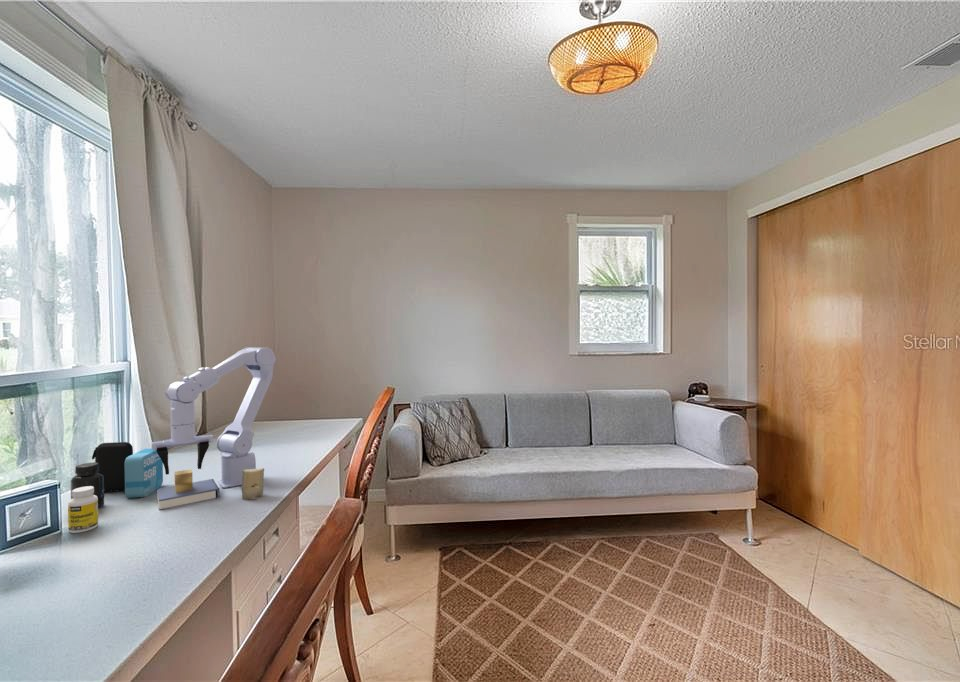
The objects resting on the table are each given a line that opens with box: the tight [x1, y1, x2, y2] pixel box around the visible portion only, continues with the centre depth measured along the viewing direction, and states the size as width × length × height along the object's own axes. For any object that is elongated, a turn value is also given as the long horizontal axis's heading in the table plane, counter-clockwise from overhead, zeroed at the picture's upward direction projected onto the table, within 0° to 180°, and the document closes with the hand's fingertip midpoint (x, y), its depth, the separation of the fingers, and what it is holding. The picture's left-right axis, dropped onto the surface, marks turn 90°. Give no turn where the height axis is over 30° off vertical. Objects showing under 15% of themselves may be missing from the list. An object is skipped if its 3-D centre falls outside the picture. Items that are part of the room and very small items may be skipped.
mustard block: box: [174, 469, 194, 493], centre depth 127 cm, size 4×4×5 cm
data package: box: [124, 447, 164, 499], centre depth 132 cm, size 12×4×12 cm, turn 12°
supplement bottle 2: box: [67, 486, 99, 534], centre depth 107 cm, size 5×5×10 cm
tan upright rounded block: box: [241, 467, 265, 500], centre depth 128 cm, size 6×5×8 cm
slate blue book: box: [156, 478, 220, 511], centre depth 127 cm, size 14×11×3 cm
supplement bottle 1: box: [70, 461, 105, 510], centre depth 120 cm, size 7×7×12 cm
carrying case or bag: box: [91, 441, 134, 493], centre depth 133 cm, size 11×3×15 cm, turn 100°
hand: (183, 470), depth 127 cm, fingers open, 7 cm apart
